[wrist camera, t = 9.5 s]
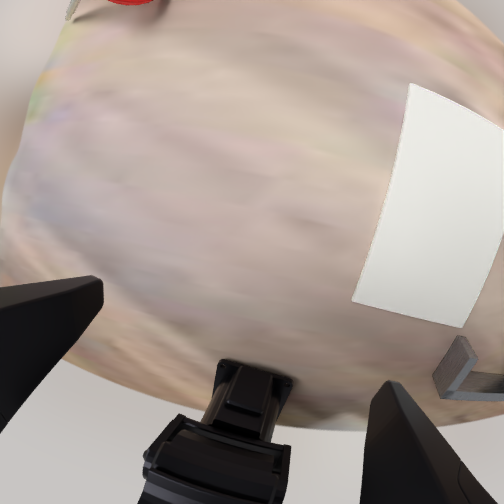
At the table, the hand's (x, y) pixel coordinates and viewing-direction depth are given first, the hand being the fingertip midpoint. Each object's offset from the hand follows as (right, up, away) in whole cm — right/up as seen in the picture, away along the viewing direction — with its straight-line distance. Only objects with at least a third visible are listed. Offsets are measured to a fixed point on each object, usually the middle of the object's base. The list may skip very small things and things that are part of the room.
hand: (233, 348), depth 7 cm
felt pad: (+14, +5, +8) cm, 16 cm away
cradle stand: (+22, -8, +10) cm, 25 cm away
